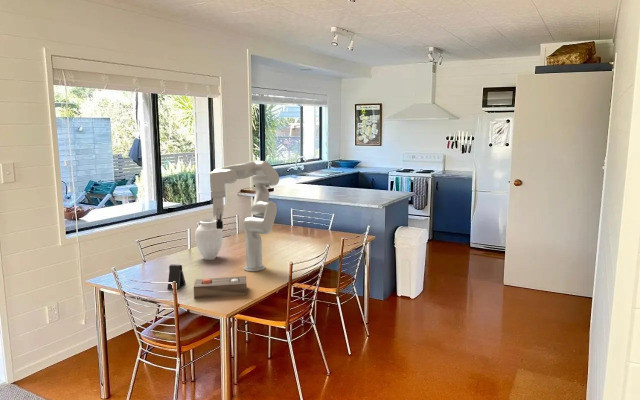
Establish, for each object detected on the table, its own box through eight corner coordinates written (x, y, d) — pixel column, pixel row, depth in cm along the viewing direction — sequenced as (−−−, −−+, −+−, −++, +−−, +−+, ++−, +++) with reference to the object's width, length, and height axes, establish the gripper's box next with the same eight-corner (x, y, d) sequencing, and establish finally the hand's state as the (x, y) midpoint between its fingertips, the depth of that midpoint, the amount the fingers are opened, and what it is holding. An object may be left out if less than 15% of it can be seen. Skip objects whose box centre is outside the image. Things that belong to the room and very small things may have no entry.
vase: (217, 262, 292) (215, 223, 288) (190, 261, 296) (188, 223, 292) (228, 255, 309) (226, 218, 305) (203, 253, 313) (201, 217, 309)
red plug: (203, 289, 240) (202, 279, 239) (211, 288, 241) (210, 278, 240) (202, 291, 236) (202, 281, 235) (210, 291, 237) (210, 281, 236)
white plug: (231, 289, 242) (230, 279, 241) (238, 288, 243) (238, 278, 242) (230, 291, 238) (230, 281, 237) (238, 291, 239) (238, 281, 238)
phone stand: (178, 289, 245) (176, 267, 243) (167, 289, 246) (166, 267, 244) (185, 284, 253) (184, 262, 251) (175, 283, 254) (174, 262, 252)
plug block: (196, 290, 243) (195, 279, 242) (246, 286, 248) (246, 276, 247) (194, 298, 232) (193, 286, 231) (246, 294, 236) (246, 283, 235)
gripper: (211, 192, 251) (213, 225, 254) (209, 196, 237) (211, 232, 239) (225, 192, 252) (227, 225, 255) (224, 196, 238) (226, 231, 241)
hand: (219, 228), depth 247 cm, fingers closed
